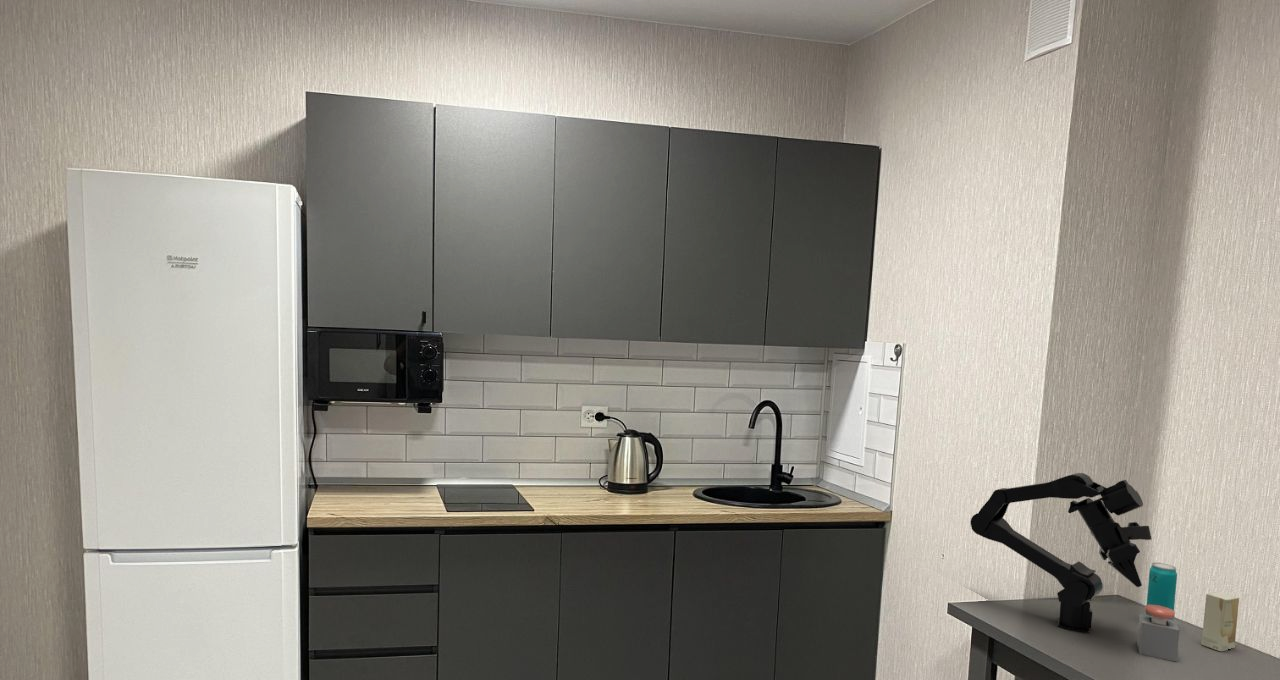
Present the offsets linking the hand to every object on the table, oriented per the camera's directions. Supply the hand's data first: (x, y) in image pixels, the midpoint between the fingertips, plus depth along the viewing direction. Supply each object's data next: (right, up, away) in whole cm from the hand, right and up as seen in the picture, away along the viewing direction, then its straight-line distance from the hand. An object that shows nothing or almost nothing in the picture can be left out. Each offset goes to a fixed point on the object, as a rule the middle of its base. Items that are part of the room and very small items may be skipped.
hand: (1139, 586), depth 185 cm
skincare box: (+20, -15, +2) cm, 25 cm away
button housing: (+1, -14, -4) cm, 14 cm away
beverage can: (+14, -14, +14) cm, 24 cm away
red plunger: (+1, -11, -4) cm, 12 cm away
